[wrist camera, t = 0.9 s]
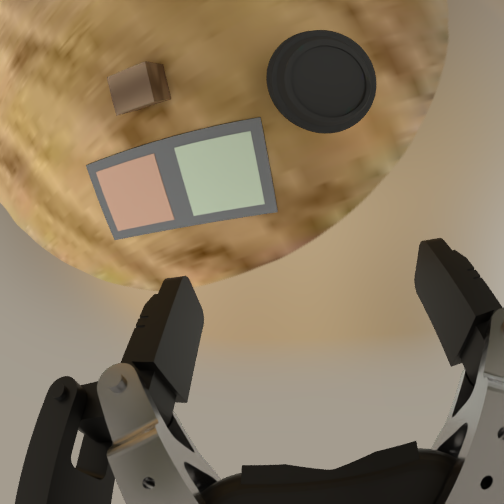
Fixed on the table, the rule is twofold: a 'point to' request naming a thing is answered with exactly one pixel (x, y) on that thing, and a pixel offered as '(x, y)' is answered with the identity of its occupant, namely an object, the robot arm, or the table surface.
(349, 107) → the coffee cup
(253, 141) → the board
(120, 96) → the walnut block
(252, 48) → the table surface
